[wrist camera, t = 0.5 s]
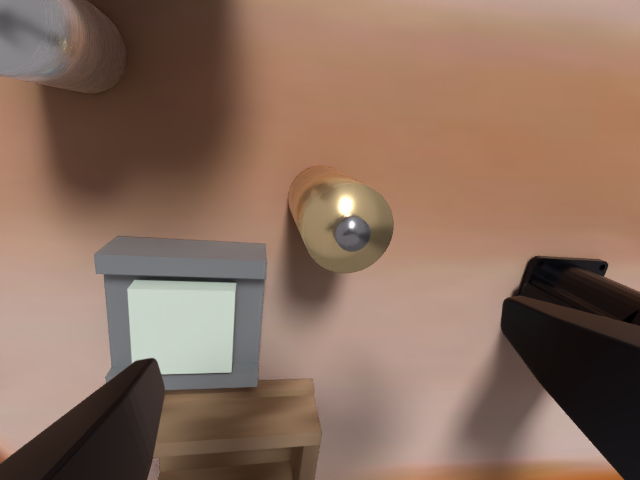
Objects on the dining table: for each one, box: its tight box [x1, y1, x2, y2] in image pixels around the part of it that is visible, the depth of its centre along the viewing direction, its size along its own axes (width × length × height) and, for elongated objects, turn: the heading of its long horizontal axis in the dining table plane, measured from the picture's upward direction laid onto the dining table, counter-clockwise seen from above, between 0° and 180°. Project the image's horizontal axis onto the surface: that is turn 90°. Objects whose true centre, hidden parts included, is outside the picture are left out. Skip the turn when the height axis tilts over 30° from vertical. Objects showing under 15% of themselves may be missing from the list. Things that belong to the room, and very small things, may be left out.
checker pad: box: [127, 280, 236, 374], centre depth 17 cm, size 5×5×1 cm
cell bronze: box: [288, 166, 393, 273], centre depth 16 cm, size 4×4×7 cm
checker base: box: [94, 236, 267, 390], centre depth 19 cm, size 8×8×3 cm
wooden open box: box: [153, 379, 322, 480], centre depth 22 cm, size 10×8×4 cm
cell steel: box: [0, 0, 126, 94], centre depth 12 cm, size 4×4×7 cm
